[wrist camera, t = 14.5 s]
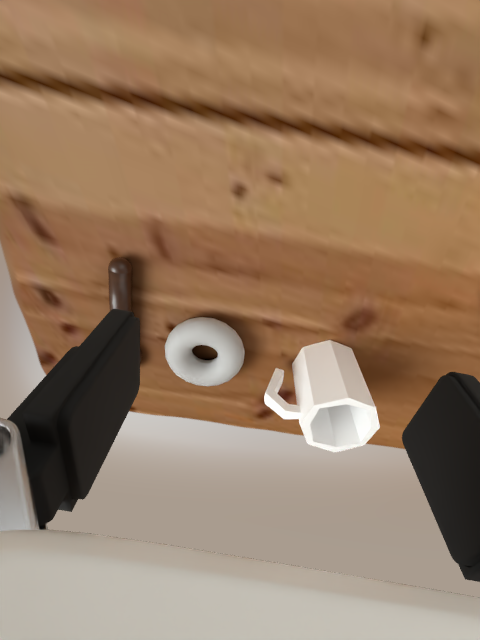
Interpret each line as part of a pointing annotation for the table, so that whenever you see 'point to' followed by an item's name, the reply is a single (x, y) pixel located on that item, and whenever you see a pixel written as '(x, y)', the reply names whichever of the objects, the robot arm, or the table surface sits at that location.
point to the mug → (327, 397)
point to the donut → (210, 335)
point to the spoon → (120, 285)
